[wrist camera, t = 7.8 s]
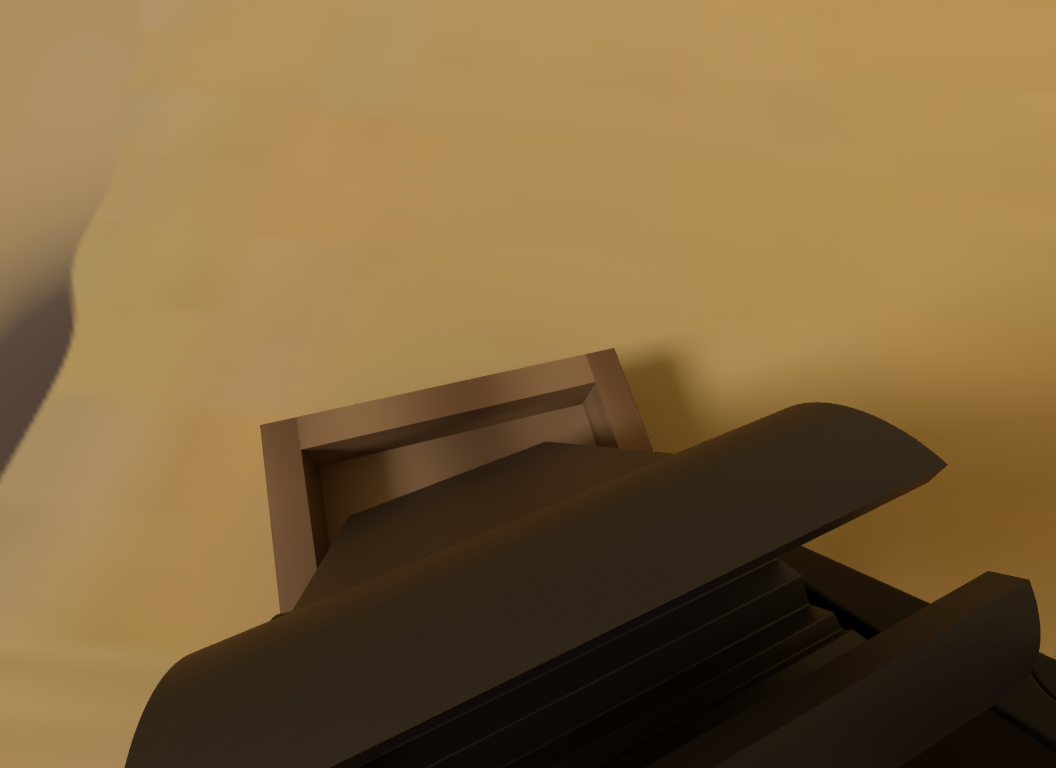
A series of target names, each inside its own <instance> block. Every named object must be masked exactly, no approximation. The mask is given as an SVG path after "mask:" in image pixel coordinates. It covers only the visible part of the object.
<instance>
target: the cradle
mask: <svg viewBox="0 0 1056 768" xmlns="http://www.w3.org/2000/svg"><path fill="white" fill-rule="evenodd" d="M260 428H261V437H262V447H263V456H264V465H265V474H266V484H267V493H268V502H269V511H270V521H271V530H272V539H273V548H274V558H275V567H276V576H277V585H278V595H279V604H280V613H285V612H290V611H292V610H293V608H294V607H295V605H296V603H297V602H298V600H299V598H300V597H301V595H302V593H303V592H304V590H305V588H306V587H307V585H308V583H309V582H310V580H311V578H312V577H313V575H314V573H315V572H316V570H317V568H318V567H319V565H320V563H321V562H322V560H323V558H324V557H325V555H326V553H327V552H328V550H329V548H330V547H331V545H332V543H333V542H334V540H335V538H336V537H337V535H338V533H339V532H340V530H341V528H342V527H343V525H344V523H345V522H346V520H347V518H348V517H349V516H350V515H353V514H356V513H358V512H361V511H364V510H366V509H369V508H371V507H374V506H377V505H379V504H382V503H385V502H387V501H390V500H393V499H395V498H398V497H400V496H403V495H406V494H408V493H411V492H414V491H416V490H419V489H422V488H424V487H427V486H429V485H432V484H435V483H437V482H440V481H443V480H445V479H448V478H451V477H453V476H456V475H459V474H461V473H464V472H466V471H469V470H472V469H474V468H477V467H480V466H482V465H485V464H488V463H490V462H493V461H495V460H498V459H501V458H503V457H506V456H509V455H511V454H514V453H517V452H519V451H522V450H524V449H527V448H530V447H532V446H535V445H538V444H540V443H543V442H546V441H547V442H557V443H567V444H578V445H588V446H598V447H609V448H619V449H629V450H640V451H650V452H653V450H652V447H651V445H650V442H649V439H648V437H647V434H646V431H645V429H644V426H643V423H642V421H641V418H640V415H639V413H638V410H637V407H636V405H635V402H634V399H633V397H632V394H631V392H630V389H629V386H628V384H627V381H626V378H625V376H624V373H623V370H622V368H621V365H620V362H619V360H618V357H617V354H616V352H615V349H614V348H612V349H608V350H603V351H599V352H594V353H589V354H585V355H580V356H576V357H571V358H566V359H562V360H557V361H553V362H548V363H544V364H539V365H534V366H530V367H525V368H521V369H516V370H511V371H507V372H502V373H498V374H493V375H488V376H484V377H479V378H475V379H470V380H465V381H461V382H456V383H452V384H447V385H442V386H438V387H433V388H429V389H424V390H420V391H415V392H410V393H406V394H401V395H397V396H392V397H387V398H383V399H378V400H374V401H369V402H364V403H360V404H355V405H351V406H346V407H341V408H337V409H332V410H328V411H323V412H319V413H314V414H309V415H305V416H300V417H296V418H291V419H286V420H282V421H277V422H273V423H268V424H263V425H260Z"/></svg>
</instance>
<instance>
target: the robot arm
mask: <svg viewBox="0 0 1056 768" xmlns="http://www.w3.org/2000/svg"><path fill="white" fill-rule="evenodd" d="M778 558H779V559H780V560H781V561H783V562H784V563H786V564H787V565H788V566H790V567H791V568H793V569H794V570H796V571H797V572H799V573H800V574H801V575H802V576H803V580H804V584H805V589H806V593H807V597H808V601H809V603H810V605H813V606H816V607H819V608H822V609H825V610H828V611H831V612H833V613H834V614H835V616H836V618H837V620H838V622H839V624H840V626H841V628H842V629H844V630H854V631H856V632H857V633H858V634H860V635H861V636H862V637H864V638H865V639H866V640H868V639H870V638H872V637H874V636H875V635H877V634H879V633H881V632H882V631H884V630H886V629H888V628H889V627H891V626H893V625H895V624H896V623H898V622H900V621H902V620H903V619H905V618H907V617H909V616H910V615H912V614H914V613H916V612H917V611H919V610H921V609H923V608H924V607H926V606H928V605H930V603H928V602H926V601H923V600H921V599H919V598H917V597H914V596H912V595H910V594H908V593H906V592H903V591H901V590H899V589H897V588H894V587H892V586H890V585H888V584H885V583H883V582H881V581H879V580H876V579H874V578H872V577H870V576H868V575H865V574H863V573H861V572H859V571H856V570H854V569H852V568H850V567H847V566H845V565H843V564H841V563H839V562H836V561H834V560H832V559H830V558H827V557H825V556H823V555H821V554H818V553H816V552H814V551H812V550H810V549H807V548H805V547H803V546H798V547H796V548H794V549H792V550H790V551H788V552H786V553H784V554H782V555H780V556H778ZM291 612H292V611H290V612H285V613H280V614H277V615H276V616H274V617H273V618H272V619H271V620H274V619H276V618H279V617H281V616H283V615H286V614H288V613H291ZM271 620H270V621H271ZM899 768H1056V660H1055V659H1053V658H1051V657H1048V656H1046V655H1044V654H1042V653H1040V652H1039V653H1038V658H1037V661H1036V664H1035V667H1034V669H1033V671H1032V673H1031V674H1030V676H1029V677H1028V679H1027V680H1026V681H1025V682H1024V684H1023V685H1022V686H1021V687H1019V688H1018V689H1017V690H1016V691H1014V692H1013V693H1011V694H1010V695H1008V696H1007V697H1005V698H1004V699H1002V700H1001V701H999V702H998V703H996V704H995V705H993V706H992V707H990V708H989V709H987V710H986V711H984V712H983V713H981V714H980V715H978V716H977V717H975V718H974V719H972V720H971V721H969V722H967V723H966V724H964V725H963V726H961V727H960V728H958V729H957V730H955V731H954V732H952V733H951V734H949V735H948V736H946V737H945V738H943V739H942V740H940V741H939V742H937V743H936V744H934V745H933V746H931V747H930V748H928V749H927V750H925V751H924V752H922V753H921V754H919V755H918V756H916V757H915V758H913V759H912V760H910V761H909V762H907V763H906V764H904V765H902V766H901V767H899Z"/></svg>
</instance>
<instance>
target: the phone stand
mask: <svg viewBox="0 0 1056 768" xmlns="http://www.w3.org/2000/svg"><path fill="white" fill-rule="evenodd" d="M947 465H948V464H946V463H945V462H944V461H943V460H942V459H941V458H939V457H938V456H937V455H936V454H935V453H933V452H932V451H931V450H929V449H928V448H927V447H926V446H924V445H923V444H921V443H920V442H919V441H917V440H916V439H914V438H913V437H911V436H910V435H908V434H907V433H905V432H904V431H902V430H900V429H898V428H897V427H895V426H893V425H891V424H889V423H888V422H886V421H884V420H882V419H879V418H877V417H875V416H873V415H870V414H868V413H865V412H863V411H860V410H857V409H854V408H850V407H847V406H842V405H838V404H831V403H820V402H814V403H803V404H798V405H794V406H791V407H788V408H786V409H783V410H781V411H778V412H776V413H773V414H771V415H769V416H766V417H764V418H761V419H759V420H756V421H754V422H752V423H749V424H747V425H744V426H742V427H739V428H737V429H735V430H732V431H730V432H727V433H725V434H722V435H720V436H718V437H715V438H713V439H710V440H708V441H705V442H703V443H701V444H698V445H696V446H693V447H691V448H688V449H686V450H684V451H681V452H679V453H676V454H671V453H660V452H650V451H640V450H629V449H619V448H609V447H598V446H588V445H578V444H567V443H557V442H547V441H546V442H543V443H540V444H538V445H535V446H532V447H530V448H527V449H524V450H522V451H519V452H517V453H514V454H511V455H509V456H506V457H503V458H501V459H498V460H495V461H493V462H490V463H488V464H485V465H482V466H480V467H477V468H474V469H472V470H469V471H466V472H464V473H461V474H459V475H456V476H453V477H451V478H448V479H445V480H443V481H440V482H437V483H435V484H432V485H429V486H427V487H424V488H422V489H419V490H416V491H414V492H411V493H408V494H406V495H403V496H400V497H398V498H395V499H393V500H390V501H387V502H385V503H382V504H379V505H377V506H374V507H371V508H369V509H366V510H364V511H361V512H358V513H356V514H353V515H350V516H349V517H348V518H347V520H346V522H345V523H344V525H343V527H342V528H341V530H340V532H339V533H338V535H337V537H336V538H335V540H334V542H333V543H332V545H331V547H330V548H329V550H328V552H327V553H326V555H325V557H324V558H323V560H322V562H321V563H320V565H319V567H318V568H317V570H316V572H315V573H314V575H313V577H312V578H311V580H310V582H309V583H308V585H307V587H306V588H305V590H304V592H303V593H302V595H301V597H300V598H299V600H298V602H297V603H296V605H295V607H294V608H293V610H292V612H291V613H288V614H286V615H283V616H281V617H279V618H276V619H274V620H271V621H269V622H266V623H264V624H262V625H259V626H257V627H254V628H252V629H249V630H247V631H245V632H242V633H240V634H237V635H235V636H233V637H230V638H228V639H225V640H223V641H220V642H218V643H216V644H213V645H211V646H208V647H206V648H203V649H201V650H199V651H196V652H194V653H191V654H189V655H187V656H185V657H184V658H182V659H181V660H179V661H178V662H177V663H176V664H174V665H173V666H172V667H171V668H170V669H169V671H168V672H167V673H166V674H165V675H164V677H163V678H162V679H161V681H160V682H159V683H158V685H157V687H156V688H155V690H154V691H153V693H152V695H151V697H150V699H149V701H148V703H147V705H146V707H145V709H144V711H143V713H142V716H141V718H140V721H139V723H138V726H137V729H136V731H135V734H134V737H133V740H132V743H131V747H130V750H129V753H128V757H127V761H126V765H125V768H899V767H901V766H902V765H904V764H906V763H907V762H909V761H910V760H912V759H913V758H915V757H916V756H918V755H919V754H921V753H922V752H924V751H925V750H927V749H928V748H930V747H931V746H933V745H934V744H936V743H937V742H939V741H940V740H942V739H943V738H945V737H946V736H948V735H949V734H951V733H952V732H954V731H955V730H957V729H958V728H960V727H961V726H963V725H964V724H966V723H967V722H969V721H971V720H972V719H974V718H975V717H977V716H978V715H980V714H981V713H983V712H984V711H986V710H987V709H989V708H990V707H992V706H993V705H995V704H996V703H998V702H999V701H1001V700H1002V699H1004V698H1005V697H1007V696H1008V695H1010V694H1011V693H1013V692H1014V691H1016V690H1017V689H1018V688H1019V687H1021V686H1022V685H1023V684H1024V682H1025V681H1026V680H1027V679H1028V677H1029V676H1030V674H1031V673H1032V671H1033V669H1034V667H1035V664H1036V661H1037V658H1038V653H1039V648H1040V620H1039V613H1038V608H1037V603H1036V599H1035V596H1034V592H1033V589H1032V586H1031V583H1030V580H1028V579H1023V578H1018V577H1013V576H1009V575H1004V574H999V573H995V572H990V571H987V572H985V573H984V574H982V575H980V576H979V577H977V578H975V579H973V580H972V581H970V582H968V583H966V584H965V585H963V586H961V587H959V588H958V589H956V590H954V591H952V592H951V593H949V594H947V595H945V596H944V597H942V598H940V599H938V600H937V601H935V602H933V603H931V604H930V605H928V606H926V607H924V608H923V609H921V610H919V611H917V612H916V613H914V614H912V615H910V616H909V617H907V618H905V619H903V620H902V621H900V622H898V623H896V624H895V625H893V626H891V627H889V628H888V629H886V630H884V631H882V632H881V633H879V634H877V635H875V636H874V637H872V638H870V639H868V640H866V639H865V638H864V637H862V636H861V635H860V634H858V633H857V632H856V631H854V630H844V629H842V628H841V626H840V624H839V622H838V620H837V618H836V616H835V614H834V613H833V612H831V611H828V610H825V609H822V608H819V607H816V606H813V605H810V603H809V601H808V597H807V593H806V589H805V584H804V580H803V576H802V575H801V574H800V573H799V572H797V571H796V570H794V569H793V568H791V567H790V566H788V565H787V564H786V563H784V562H783V561H781V560H780V559H779V558H778V556H780V555H782V554H784V553H786V552H788V551H790V550H792V549H794V548H796V547H798V546H801V545H803V544H805V543H807V542H809V541H811V540H813V539H815V538H817V537H819V536H821V535H823V534H825V533H827V532H829V531H831V530H833V529H835V528H837V527H839V526H841V525H843V524H845V523H847V522H849V521H851V520H853V519H855V518H857V517H859V516H861V515H863V514H865V513H867V512H869V511H871V510H873V509H875V508H877V507H879V506H881V505H883V504H885V503H887V502H889V501H891V500H893V499H895V498H897V497H899V496H901V495H904V494H906V493H908V492H910V491H912V490H914V489H916V488H918V487H920V486H922V485H924V484H926V483H928V482H929V481H930V480H931V479H932V478H933V477H934V476H936V475H937V474H938V473H939V472H940V471H941V470H942V469H944V468H945V467H946V466H947Z"/></svg>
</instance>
